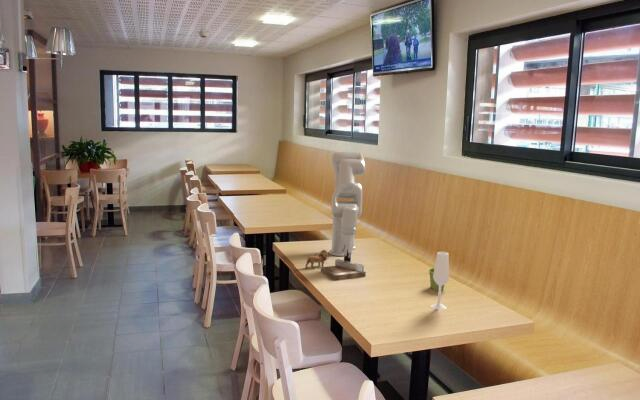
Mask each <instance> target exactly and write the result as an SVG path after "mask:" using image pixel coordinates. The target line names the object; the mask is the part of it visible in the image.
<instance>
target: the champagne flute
mask: <svg viewBox="0 0 640 400" xmlns="http://www.w3.org/2000/svg"><path fill="white" fill-rule="evenodd" d="M449 255H450V254H449V252H447V251H438V252H436V256H435V257H436V259H435V262H434V263H435V264H434V274H433V279H434V281H435V282H436V283H437V284H438V285H439V290H437V291H438V292H437V293H438V294H437V302H436V303H433V304H431V305H430V307H431V309H433V310H437V311H444V310H447V306H445V305H444V304H443V303H441V301H442V300H441V298H442V290H441V289H442V285H444V286H445V285H446V284H447V283H448V282H449V280H450V266H449V265H450V261H449V260H450V259H449V257H450V256H449Z"/></svg>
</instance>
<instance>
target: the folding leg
mask: <svg viewBox="0 0 640 400" xmlns="http://www.w3.org/2000/svg"><path fill="white" fill-rule="evenodd" d="M334 261H335V262H334V263H335V265H334V266H340V267H344V268H348V269H352V270H356V271H361V272H362V271H365V264H363V263H362V264H361V263H357V262H353V261H351V262H349V261H345V260H344V259H339V258H336V259H334Z"/></svg>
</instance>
